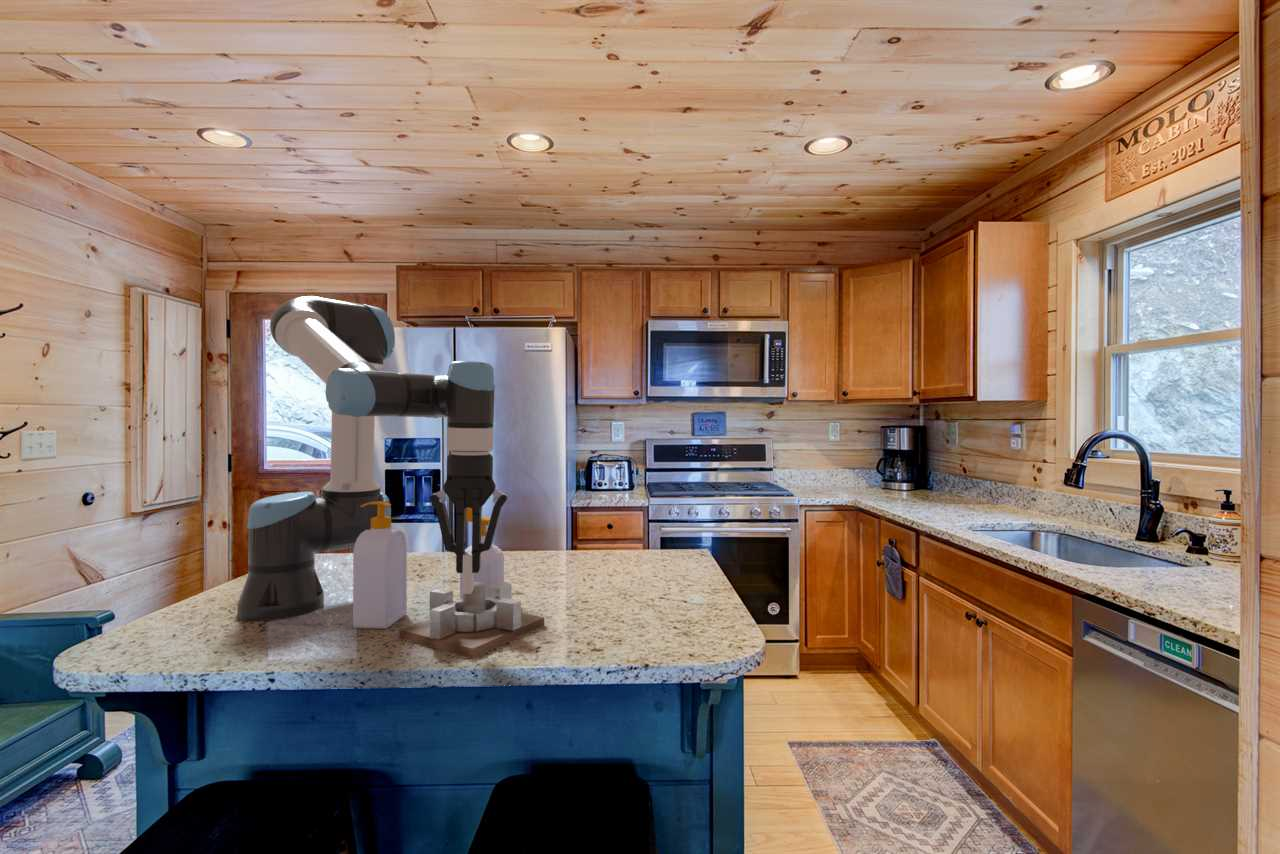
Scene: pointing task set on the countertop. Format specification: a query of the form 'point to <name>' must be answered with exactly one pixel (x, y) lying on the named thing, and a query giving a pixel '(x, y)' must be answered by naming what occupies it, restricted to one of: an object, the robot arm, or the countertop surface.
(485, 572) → the soap bottle
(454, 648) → the hub
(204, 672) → the countertop surface
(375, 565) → the soap bottle
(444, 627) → the ring nut
